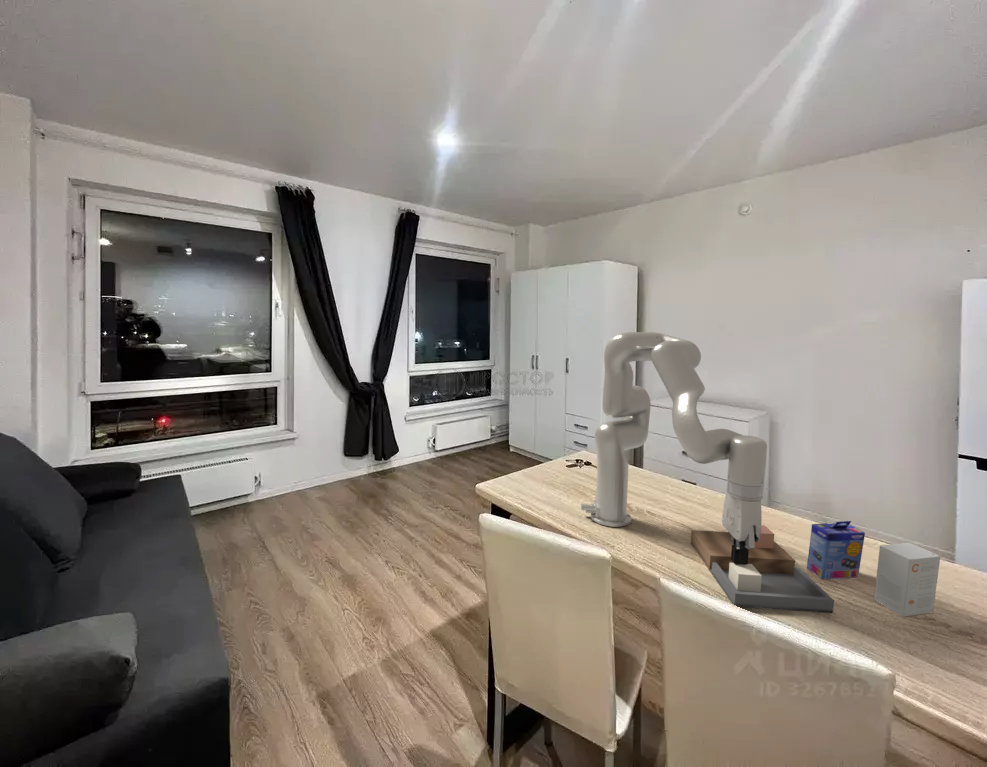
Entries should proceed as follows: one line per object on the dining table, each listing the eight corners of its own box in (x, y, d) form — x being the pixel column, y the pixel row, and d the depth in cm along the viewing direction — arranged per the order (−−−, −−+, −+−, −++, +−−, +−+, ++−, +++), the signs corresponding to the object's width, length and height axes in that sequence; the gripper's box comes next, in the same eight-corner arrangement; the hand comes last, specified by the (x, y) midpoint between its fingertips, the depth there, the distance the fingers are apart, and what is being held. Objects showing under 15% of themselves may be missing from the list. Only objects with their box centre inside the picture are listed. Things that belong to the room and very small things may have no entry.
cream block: (729, 562, 105) (728, 578, 105) (738, 574, 100) (737, 590, 100) (751, 564, 104) (750, 579, 105) (761, 575, 99) (760, 592, 100)
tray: (734, 606, 96) (735, 593, 95) (710, 571, 109) (710, 560, 109) (832, 613, 93) (834, 600, 93) (795, 576, 107) (796, 565, 107)
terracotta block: (752, 547, 113) (753, 532, 113) (743, 538, 118) (744, 524, 118) (773, 548, 113) (774, 533, 112) (763, 539, 118) (764, 525, 117)
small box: (901, 595, 100) (908, 541, 98) (934, 613, 94) (942, 556, 92) (872, 599, 98) (879, 544, 97) (903, 617, 92) (910, 559, 91)
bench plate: (709, 570, 110) (710, 555, 109) (690, 543, 124) (691, 530, 123) (794, 575, 108) (795, 560, 107) (765, 547, 122) (766, 534, 121)
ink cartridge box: (823, 581, 106) (829, 524, 104) (805, 568, 111) (810, 514, 109) (861, 579, 106) (867, 522, 105) (841, 567, 112) (847, 513, 110)
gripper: (715, 477, 110) (710, 546, 112) (742, 500, 95) (736, 579, 98) (746, 478, 109) (741, 548, 112) (779, 501, 95) (772, 581, 97)
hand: (739, 562), depth 105 cm, fingers closed
